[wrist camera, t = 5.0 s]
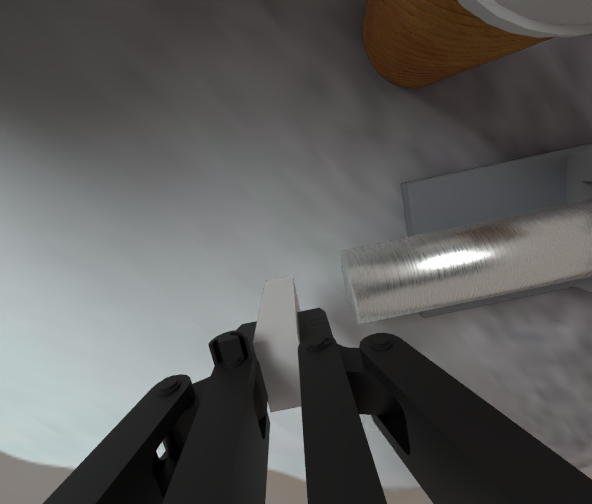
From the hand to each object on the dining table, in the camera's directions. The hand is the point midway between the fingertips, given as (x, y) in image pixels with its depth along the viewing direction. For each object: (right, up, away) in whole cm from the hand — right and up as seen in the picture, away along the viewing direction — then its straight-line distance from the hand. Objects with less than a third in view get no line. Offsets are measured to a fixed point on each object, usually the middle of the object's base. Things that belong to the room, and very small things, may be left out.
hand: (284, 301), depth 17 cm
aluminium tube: (+14, +3, +2) cm, 15 cm away
